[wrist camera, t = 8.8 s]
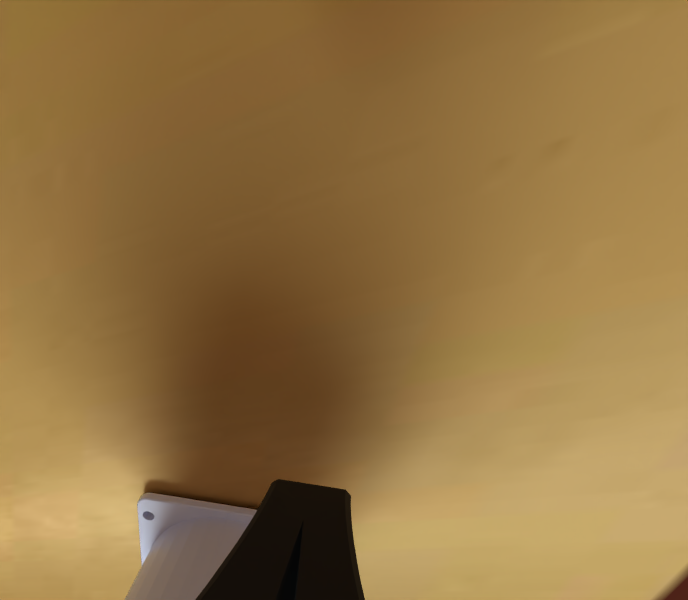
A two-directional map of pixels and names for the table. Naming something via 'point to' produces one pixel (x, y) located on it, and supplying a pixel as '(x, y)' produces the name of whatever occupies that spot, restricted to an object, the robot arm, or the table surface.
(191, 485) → the table surface
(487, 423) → the table surface
